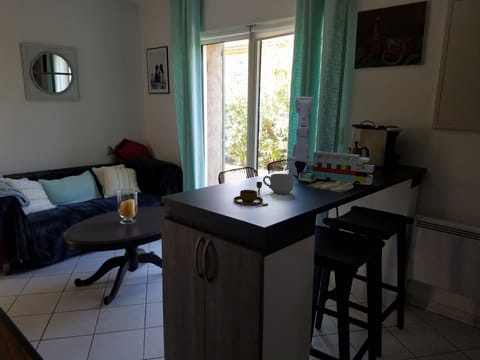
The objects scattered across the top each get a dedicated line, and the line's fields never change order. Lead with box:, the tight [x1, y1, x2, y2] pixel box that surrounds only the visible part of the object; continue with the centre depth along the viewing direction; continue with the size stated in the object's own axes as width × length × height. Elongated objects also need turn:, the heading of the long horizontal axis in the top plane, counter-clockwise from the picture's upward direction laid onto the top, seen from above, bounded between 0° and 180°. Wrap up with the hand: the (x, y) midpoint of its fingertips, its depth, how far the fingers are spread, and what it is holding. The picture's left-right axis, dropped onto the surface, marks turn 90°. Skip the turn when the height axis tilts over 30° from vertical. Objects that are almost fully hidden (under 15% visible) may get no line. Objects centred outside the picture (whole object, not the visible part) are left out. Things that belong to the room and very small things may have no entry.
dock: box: [305, 181, 355, 193], centre depth 175 cm, size 19×14×4 cm
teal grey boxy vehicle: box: [298, 170, 317, 185], centre depth 182 cm, size 7×7×5 cm
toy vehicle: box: [311, 150, 375, 187], centre depth 185 cm, size 8×30×15 cm, turn 62°
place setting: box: [233, 181, 269, 208], centre depth 145 cm, size 18×20×6 cm
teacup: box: [262, 173, 295, 195], centre depth 159 cm, size 14×11×8 cm
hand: (299, 175), depth 185 cm, fingers closed
